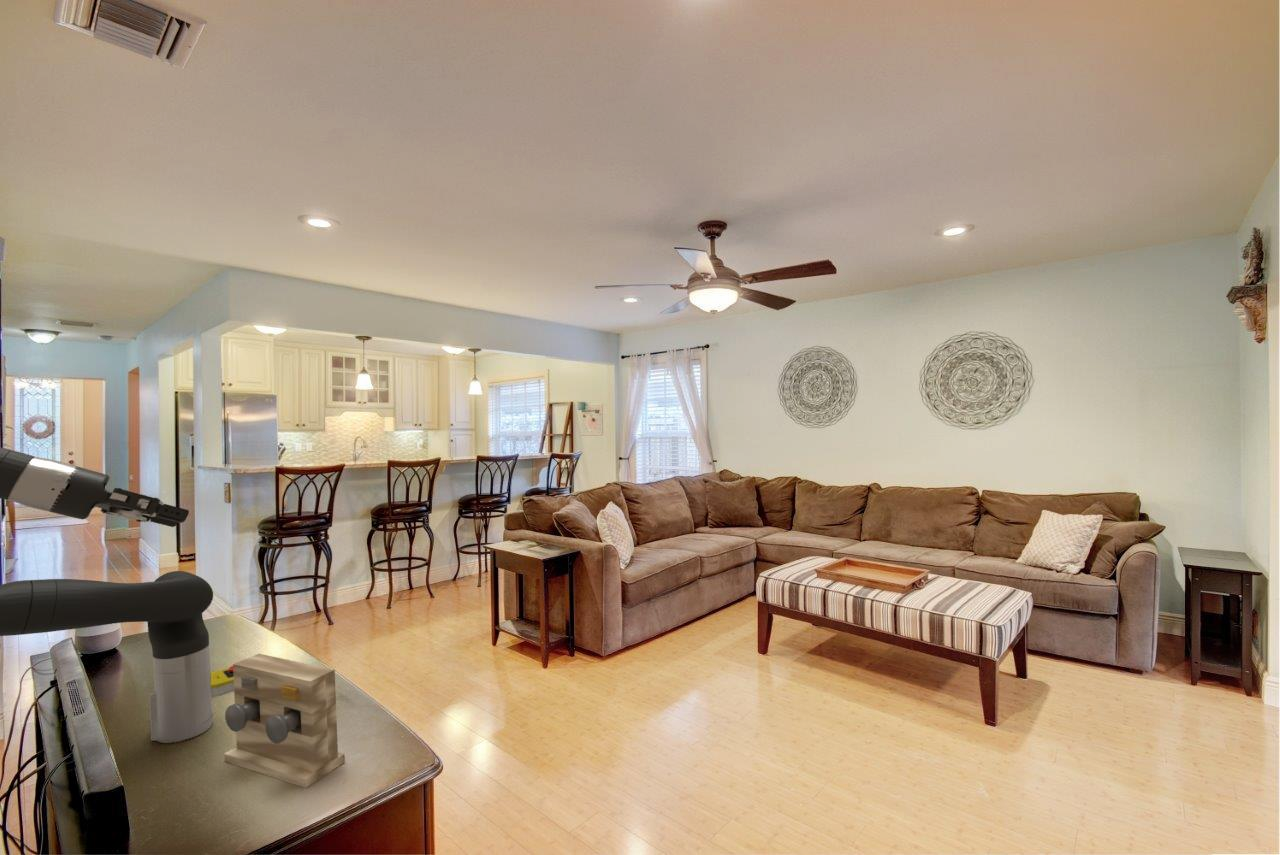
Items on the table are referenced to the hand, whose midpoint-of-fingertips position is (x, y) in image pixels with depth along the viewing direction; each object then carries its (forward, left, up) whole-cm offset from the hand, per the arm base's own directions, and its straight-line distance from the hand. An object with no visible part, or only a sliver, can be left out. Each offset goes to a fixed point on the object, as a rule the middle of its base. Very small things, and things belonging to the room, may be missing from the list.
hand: (182, 519), depth 100 cm
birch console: (+12, +7, -48) cm, 50 cm away
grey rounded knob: (+15, +1, -40) cm, 43 cm away
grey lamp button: (+5, +7, -40) cm, 41 cm away
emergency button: (-16, +44, -49) cm, 67 cm away
